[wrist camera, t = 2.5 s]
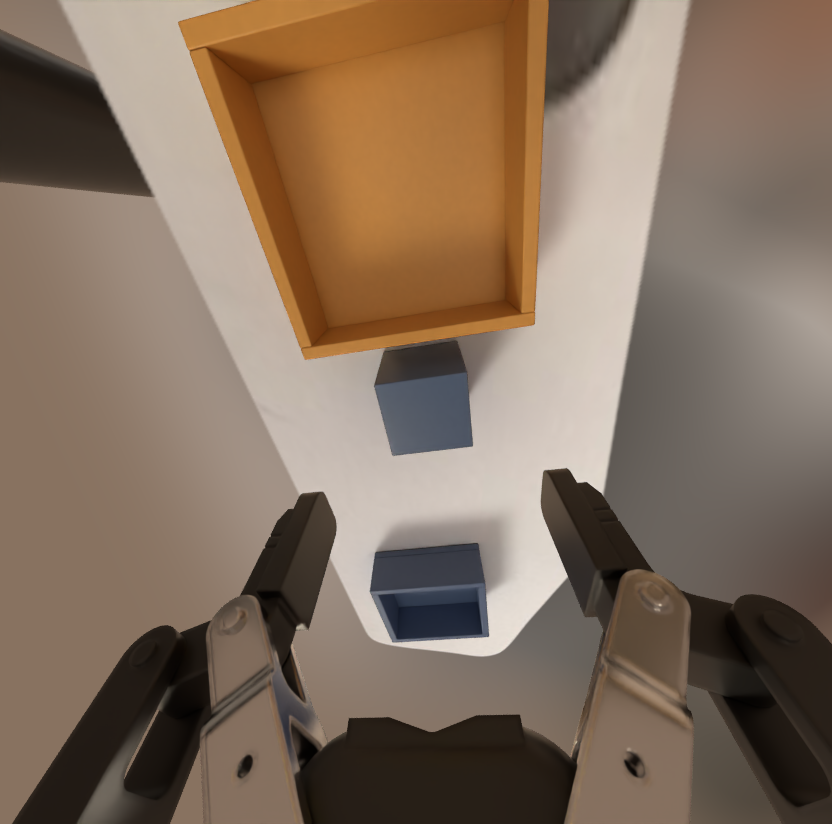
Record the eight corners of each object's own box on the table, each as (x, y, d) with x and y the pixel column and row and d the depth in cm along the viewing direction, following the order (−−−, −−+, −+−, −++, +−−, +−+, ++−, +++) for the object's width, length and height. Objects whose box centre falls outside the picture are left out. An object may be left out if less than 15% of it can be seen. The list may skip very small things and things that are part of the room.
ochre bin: (238, 72, 12) (176, 20, 9) (516, 2, 11) (553, -83, 8) (324, 336, 18) (304, 360, 15) (513, 306, 17) (534, 325, 14)
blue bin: (374, 552, 28) (369, 591, 25) (478, 543, 28) (485, 583, 24) (394, 604, 33) (392, 642, 30) (482, 598, 33) (489, 637, 29)
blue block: (383, 351, 18) (373, 385, 14) (457, 340, 18) (467, 372, 14) (397, 413, 20) (392, 456, 17) (463, 405, 20) (472, 446, 16)
